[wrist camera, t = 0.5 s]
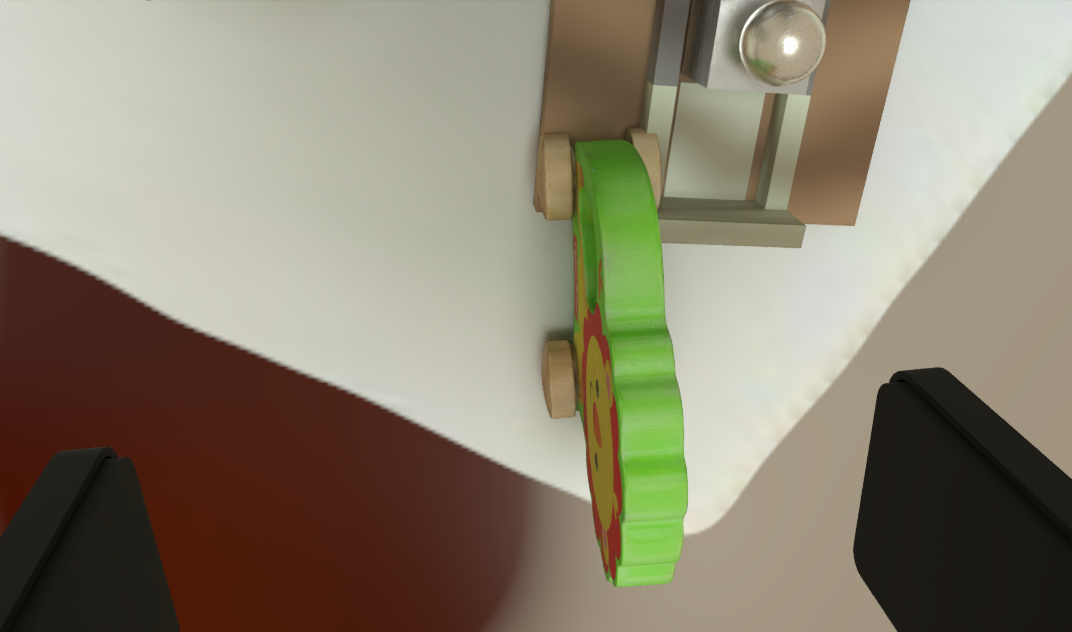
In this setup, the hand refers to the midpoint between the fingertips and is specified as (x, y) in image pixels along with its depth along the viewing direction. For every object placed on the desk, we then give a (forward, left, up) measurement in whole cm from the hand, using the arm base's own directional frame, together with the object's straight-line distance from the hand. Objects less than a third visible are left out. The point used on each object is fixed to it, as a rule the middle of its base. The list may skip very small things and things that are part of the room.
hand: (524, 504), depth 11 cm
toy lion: (+9, +7, -29) cm, 31 cm away
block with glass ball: (-3, +12, -27) cm, 30 cm away
